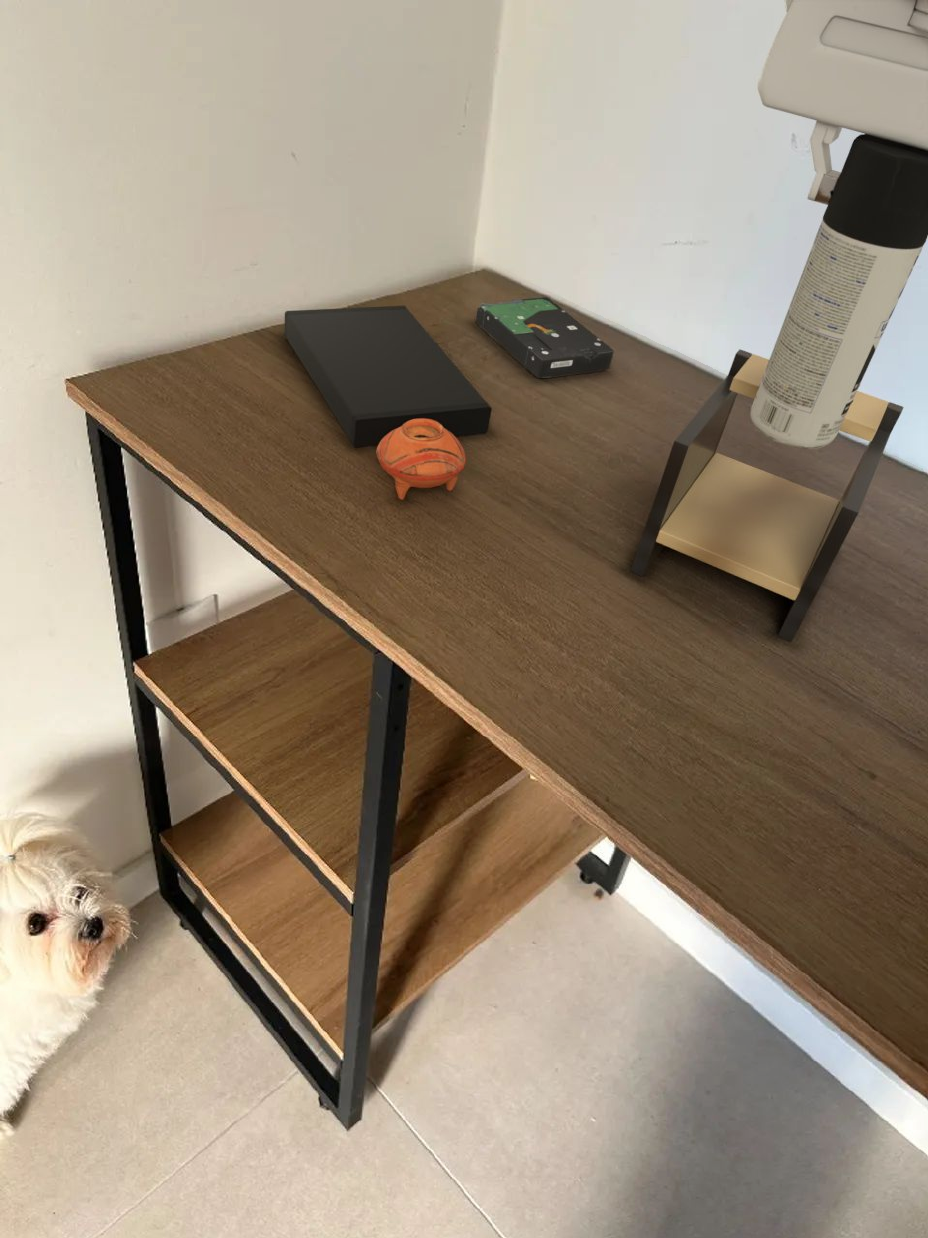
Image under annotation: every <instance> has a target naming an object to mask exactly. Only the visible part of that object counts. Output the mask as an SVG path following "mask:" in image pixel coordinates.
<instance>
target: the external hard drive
mask: <svg viewBox="0 0 928 1238" xmlns="http://www.w3.org/2000/svg"><path fill="white" fill-rule="evenodd" d="M283 328H284V329H283V332H284V333H283V334H284V337H285V338H286V340H287V342H288V343H289V345H290V346H291V348H292V349H293V351H294V353H295V355H296V356H297V358H298V359H299V361H300V363H301V364H302V366H303V367H304V369H305V370H306V372H307V374H308V375H309V377H310V379H311V380H312V382H313V383H314V385H315V387H316V388H317V390H318V391H319V393H320V394H321V396H322V398H323V399H324V401H325V402H326V404H327V405H328V407H329V408H330V410H331V412H332V414H333V416H334V417H335V418H336V420H337V421H338V423H339V425H340V426H341V428H342V429H343V432H344V433H345V434H346V436H347V437H348V439H349V441H350V442H351V444H352V445H353V447H354V448H364V447H374V446H378V445H379V443H380V442H381V440H382V439H383V438H384V437H385V436H386V435H387V434H388V433H390V432H391V431H393V430H394V429H396V428H399V427H401V426H402V425H403V424H404V423H406V422H408V421H409V420H412V419H419V418H424V419H432V420H435V421H437V422H439V423H440V424H441V425H442V426H443V428H445V429H447V430H448V431H449V432H451V433H452V434H453V435H454V436H455V437H456V438H457V437H466V436H475V435H484V434H487V433H488V431H489V427H490V420H491V415H492V407H491V405H490V404H489V403H488V402H487V401H486V399H485V398H484V397H483V396H482V395H481V394H480V392H479V391H478V390H477V389H476V388H475V386H474V385H473V384H472V383H471V382H470V381H469V380H468V379H467V377H466V376H465V374H463V372H462V371H461V370H460V369H459V368H458V367H457V366H456V365H455V363H454V361H453V360H452V359H451V358H450V357H449V356H448V354H446V353H445V351H444V350H443V349H442V347H440V345H439V344H438V342H437V341H435V339H433V337H432V335H430V334H429V332H428V331H427V330H426V329H425V328H424V326H423V325H422V324H421V323H420V322H419V321H418V320H417V318H416V316H414V315H413V313H411V311H410V310H409V309H408V308H407V307H406V305H387V306H385V305H384V306H366V307H365V306H364V307H363V306H362V307H344V308H343V307H341V308H322V309H321V308H320V309H300V310H286V311H285V312H284V327H283Z"/></svg>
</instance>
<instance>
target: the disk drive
mask: <svg viewBox="0 0 928 1238" xmlns="http://www.w3.org/2000/svg"><path fill="white" fill-rule="evenodd" d="M475 322H476V323H477V325H478V326H479V327H480V328H481V329H482V330H483V331H485V333H486V334H488V335H489V336H490V337H491V338H492V339H493V340H494V341H495V342H496V343H498V345H499V346H501V347H502V348H503V349H504V350H505V351H506V352H507V353H508V354H510V355H511V356H512V357H513V358H514V359H515V360H516V361H517V362H518V363H519V364H520V365H521V366H522V367H524V369H526V370H527V371H528V372H530V374H532V375H533V376H535V377H536V378H538V379H545V378H546V379H547V378H548V379H549V378H558V377H564V376H572V375H573V376H574V375H580V374H588V373H595V372H600V371H604V370H610V369H611V364H612V360H613V357H614V353H615V350H614V349H612V348H611V346H610V345H608V344H607V343H606V342H605V341H603V340H601V339H600V338H599V337H598V336H597V335H596V334H594V333H593V332H592V331H590V330H589V329H588V328H587V327H585V326H584V325H583V324H581V323H580V321H578V320H577V319H576V318H574V317H573V316H572V315H570V314H569V313H568V312H566V311H565V310H564V309H563V308H562V307H561V306H560V305H558V304H557V303H555V302H554V301H553V300H552V299H550V298H549V297H548V296H545V297H544V296H543V297H533V298H523V299H522V298H518V299H517V298H516V299H511V301H505V302H504V301H503V302H501V301H500V302H496V303H495V302H494V303H486V302H485V301H484V302H481V304H480V307H477V309H476V316H475Z"/></svg>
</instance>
